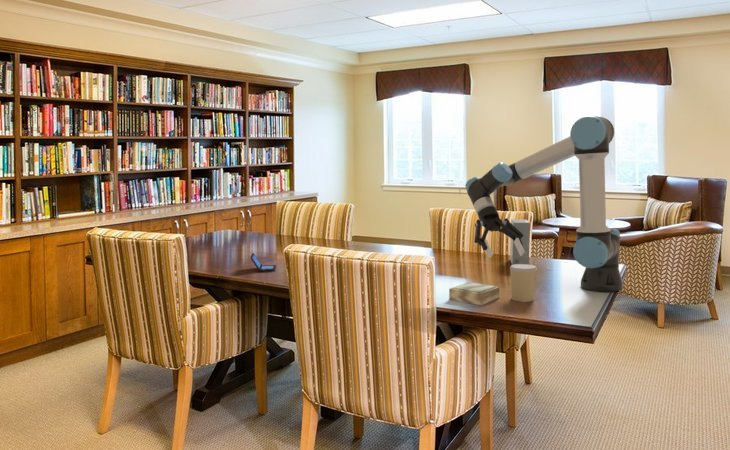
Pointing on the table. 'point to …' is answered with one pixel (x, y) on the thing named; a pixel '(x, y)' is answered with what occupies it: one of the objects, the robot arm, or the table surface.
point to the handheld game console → (262, 267)
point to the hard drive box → (524, 228)
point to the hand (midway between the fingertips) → (507, 255)
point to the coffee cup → (523, 282)
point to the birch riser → (474, 293)
